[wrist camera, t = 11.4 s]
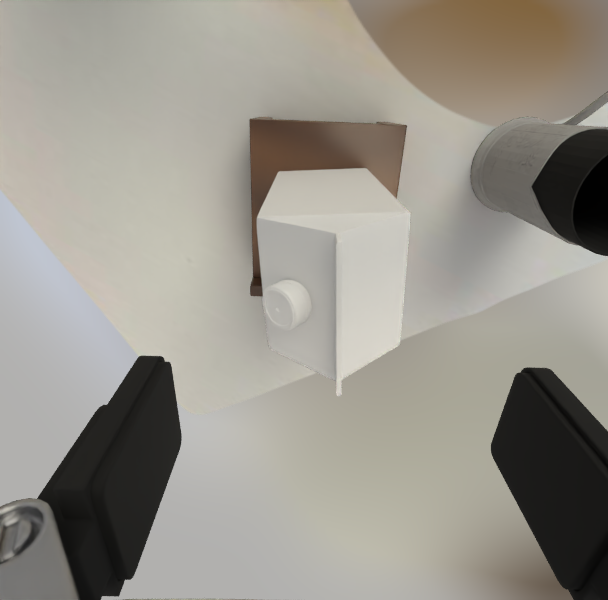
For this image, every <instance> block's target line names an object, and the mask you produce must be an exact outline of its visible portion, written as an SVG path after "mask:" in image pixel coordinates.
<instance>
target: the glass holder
mask: <svg viewBox="0 0 608 600" xmlns="http://www.w3.org/2000/svg"><path fill="white" fill-rule="evenodd" d="M607 102H608V92H606V93H605V94H604V95H602V96H601V97H599V98H598V99H597V100H595V101H594V102H593V103H591V104H590V105H589V106H587V107H586V108H585V109H584V110H582V111H581V112H580V113H578V114H577V115H575V116H574V117H573V118H571V119H570V120H568V121H567V122H565V123H563V124H551V123H549V122H547V121H545V120H543V119H539V118H535V117H522V118H517V119H513V120H511V121H508V122H506V123H504V124H502V125H501V126H499V127H498V128H496V129H495V130H494V131H492V132H491V133H490V134H489V135H488V136H487V137H486V139H485V140H484V141H483V142H482V143H481V145H480V147H479V148H478V150H477V152H476V154H475V157H474V159H473V163H472V167H471V184H472V187H473V191H474V193H475V194H476V196H477V198H478V199H479V200H480V201H481V203H483V204H484V205H485V206H487V207H488V208H490V209H493V210H496V211H500V212H509V213H511V214H513V215H515V216H517V217H519V218H521V219H523V220H524V221H526V222H528V223H530V224H532V225H534V226H536V227H538V228H540V229H542V230H544V231H546V232H548V233H550V234H552V235H554V236H556V237H558V238H560V239H562V240H563V241H565V242H567V243H569V244H574V245H579V246H581V247H583V248H585V249H587V250H589V251H592V252H594V253H596V254H600V255H604V256H608V127H594V126H578V125H577V124H578V123H580V122H581V121H583V120H584V119H586V118H587V117H588V116H590V115H591V114H592V113H594V112H595V111H596V110H598V109H599V108H601V107H602V106H603V105H604V104H606V103H607Z"/></svg>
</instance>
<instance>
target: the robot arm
mask: <svg viewBox="0 0 608 600" xmlns="http://www.w3.org/2000/svg"><path fill="white" fill-rule="evenodd" d="M180 446H181V429H180V422H179V415H178V408H177V401H176V394H175V388H174V381H173V374H172V367H171V364H170V362H165V361H164V358H163V357H162V356H139V357H138V359H137V360H136V362H135V363H134V365H133V367H132V368H131V369H130V371H129V372H128V374H127V375H126V377H125V379H124V380H123V382H122V383H121V385H120V386H119V388H118V389H117V391H116V392H115V394H114V395H113V397H112V398H111V400H110V401H109V403H108V404H107V405H103V406H101V407H99V409H98V410H97V411H96V412H95V414H94V415H93V417H92V418H91V420H90V421H89V423H88V424H87V426H86V427H85V429H84V430H83V431H82V433H81V434H80V436H79V437H78V439H77V440H76V442H75V443H74V445H73V446H72V448H71V449H70V451H69V452H68V454H67V455H66V457H65V458H64V460H63V461H62V463H61V464H60V465H59V467H58V468H57V470H56V471H55V473H54V474H53V476H52V477H51V479H50V480H49V482H48V483H47V485H46V486H45V488H44V489H43V491H42V492H41V494H40V495H39V497H38V498H37V499H32V498H28V499H21V500H16V501H13V502H11V503H8V504H5V505H3V506H1V507H0V600H101V597H102V596H119V594H120V592H121V589H122V586H123V584H124V581H125V579H126V580H127V579H128V580H130V579H132V577H133V576H134V574H135V571H136V569H137V566H138V563H139V560H140V557H141V555H142V552H143V550H144V547H145V544H146V541H147V538H148V536H149V533H150V530H151V527H152V524H153V522H154V519H155V516H156V513H157V511H158V508H159V505H160V502H161V500H162V497H163V494H164V491H165V489H166V486H167V483H168V480H169V477H170V475H171V472H172V469H173V466H174V463H175V461H176V458H177V455H178V452H179V450H180ZM491 453H492V456H493V459H494V461H495V462H496V464H497V466H498V468H499V470H500V472H501V474H502V475H503V478H504V479H505V481H506V483H507V485H508V487H509V489H510V490H511V493H512V495H513V496H514V498H515V500H516V502H517V504H518V506H519V508H520V510H521V512H522V513H523V515H524V517H525V519H526V521H527V523H528V525H529V527H530V529H531V530H532V532H533V534H534V536H535V538H536V540H537V542H538V544H539V546H540V547H541V549H542V551H543V553H544V555H545V557H546V559H547V561H548V563H549V564H550V566H551V568H552V570H553V572H554V574H555V576H556V578H557V580H558V581H559V583H560V584H561V585H562V587H563V588H565V589H568V590H569V592H570V594H571V595H572V597H573V599H574V600H608V431H607V430H606V429H605V428H604V427H603V426H602V425H601V424H600V422H599V421H598V420H596V418H595V417H594V416H593V415H592V414H591V413H590V412H589V411H588V409H587V408H586V407H585V406H584V405H583V404H582V403H581V402H580V401H579V400H578V399H577V397H576V396H575V395H574V394H573V393H572V392H571V391H570V390H569V389H568V388H567V387H566V385H565V384H564V383H563V382H562V381H561V380H560V379H559V378H558V377H557V376H556V375H555V374H554V372H553V371H551V370H550V369H547V368H524V369H523V370H522V371H521V373H517V374H516V375H515V377H514V380H513V384H512V386H511V389H510V392H509V395H508V397H507V400H506V403H505V406H504V409H503V412H502V415H501V417H500V421H499V423H498V426H497V429H496V432H495V434H494V437H493V440H492V443H491ZM126 600H250V599H126ZM251 600H254V599H251Z"/></svg>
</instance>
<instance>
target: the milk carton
mask: <svg viewBox="0 0 608 600" xmlns="http://www.w3.org/2000/svg"><path fill="white" fill-rule="evenodd" d="M410 218H411V213H410V212H409V211H408V210H407V209H406V208H405V207H404V206H403V205H402V204H401V203H400V202H399V201H398V200H397V199H396V198H395V197H394V196H393V195H392V194H391V193H390V192H389V191H388V190H387V189H386V188H385V187H384V186H383V185H382V184H381V183H380V182H379V181H378V180H377V178H376V177H375V176H374V175H373V174H372V173H371V172H370V171H369V170H368V169H367V168H351V169H325V170H300V171H279V172H278V173H277V175H276V178H275V180H274V182H273V184H272V186H271V188H270V190H269V192H268V194H267V197H266V199H265V201H264V203H263V205H262V207H261V209H260V211H259V214H258V216H257V237H258V249H259V259H260V270H261V280H262V291H263V297H262V304H263V309H264V312H265V323H266V332H267V341H268V346H269V348H270V349H271V350H272V351H274V352H276V353H278V354H280V355H283V356H285V357H287V358H289V359H291V360H293V361H295V362H297V363H299V364H301V365H303V366H305V367H307V368H309V369H311V370H313V371H315V372H317V373H319V374H321V375H323V376H325V377H328V378H330V379H332V380H334V381H336V389H337V396H341V395H342V394H341V393H342V389H341V388H342V384H341V383H342V379H344V378H346V377H347V376H349V375H350V374H352V373H354V372H355V371H357V370H359V369H360V368H362V367H364V366H365V365H367V364H369V363H370V362H372V361H374V360H375V359H377V358H379V357H380V356H382V355H384V354H385V353H387V352H389V351H390V350H392V349H394V348H395V347H397V346H399V344H400V339H401V329H402V317H403V305H404V293H405V281H406V269H407V257H408V245H409V232H410Z"/></svg>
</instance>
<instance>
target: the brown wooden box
mask: <svg viewBox="0 0 608 600" xmlns="http://www.w3.org/2000/svg"><path fill="white" fill-rule="evenodd" d="M406 128H407V125H402V124H396V123H390V122H377V124H373V123H349V122H325V121H300V120H276V119H273V118H270V117H258V118H253V119H250V157H251V202H252V246H253V279H252V282H251V286H250V294H251V296H263V291H262V280H261V270H260V259H259V249H258V237H257V216H258V214H259V211H260V209H261V207H262V205H263V203H264V201H265V199H266V197H267V194H268V192H269V190H270V188H271V186H272V184H273V182H274V180H275V178H276V175H277V173H278V172H279V171H300V170H325V169H351V168H367V169H368V170H369V171H370V172H371V173H372V174H373V175H374V176H375V177H376V178H377V180H378V181H379V182H380V183H381V184H382V185H383V186H384V187H385V188H386V189H387V190H388V191H389V192H390V193H391V194H392V195H393V196H394V197H395V198H396V199H397V192H398V185H399V178H400V171H401V163H402V156H403V149H404V142H405V135H406Z"/></svg>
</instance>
